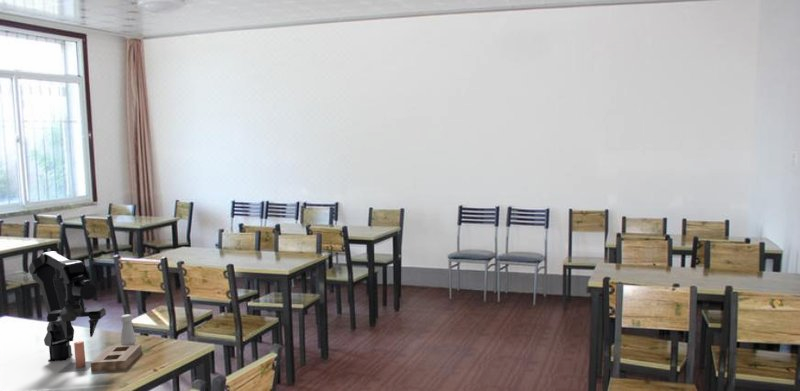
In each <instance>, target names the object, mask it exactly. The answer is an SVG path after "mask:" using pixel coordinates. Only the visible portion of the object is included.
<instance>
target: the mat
mask: <svg viewBox="0 0 800 391" xmlns="http://www.w3.org/2000/svg"><path fill="white" fill-rule="evenodd" d="M92 361H93V360H91V361H89V360H88V361H85V362H86V366H85V367H82V368H76V361H74V362H69V363H67V364H66V365H65V366H64V367H63V368H61V369H59V371H58V372H57V373H72V372H76V373H77V372H87V371H88V370H89V369H91V362H92Z"/></svg>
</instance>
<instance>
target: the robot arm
mask: <svg viewBox="0 0 800 391" xmlns="http://www.w3.org/2000/svg"><path fill="white" fill-rule="evenodd" d="M57 270H58V271H59V275H60V277H62V278H63V284H64V285H65V297H66V298H65V301H64V307H63V308H62V306H61V303H60V300H59V296H58V292H57V289H56V285H55V281H54V279H55V277H56V274H57ZM28 271H29V273H30V275H31V278H32V279H33V281H34V282H36V283H37V284H38V285H39V286H40V290H41V294H42V297H43V301H44V305H45V309H46V312H47V315H46V322H48V324H47V326H46V334H45V337H44V339H43V341H44V345H45V346H46V347H48V350H49V359H48V361H47V362H48V363H49V362H63V361H67V360H68V359H69V358H71V357H72V356H73V353H72V345H71V344H70V342H73V341H74V337H75V336H74V335H75V329H74V327H73V325H72V322H74V321H76V320H77V318H82V317H83V318H85V317H86V318H87V317H88V318H89V320H88V323H89V337H90V338H92V337H93V336H94V333H95V331H96V328H97V325H98V322H99V321H100V320H101V319H103V317H105V316H106V315H107V310H106V309H105V308H104V307H94V308H92V309H91V310H89V311H88V310H87V307H86V305H85V300H86V301H88V300H91V299H93V298H94V297H95V296H96V294H97V288H96V286H95V285H94V284H92V283H91V281H90V280H91V274H90V271H89V270H88V268H87V267H86V265H85V263H84V262H83V261H82V260H77V259H68V258H67V257H65V256H63V255H61V254H60V253H58V252H57V251H54V250H52V251H46V252H43V253H41V254H40V256H38V257H36V258H35V259H34V260H32V262H31V263H30V265H29V267H28ZM86 310H87V311H86Z"/></svg>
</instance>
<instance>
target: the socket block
mask: <svg viewBox="0 0 800 391" xmlns="http://www.w3.org/2000/svg"><path fill="white" fill-rule="evenodd" d="M142 350H143V349H142V343H140V344H139V343H138V344H136V343H135V345H122V344H120V345H109V346H107V348H106V349H105V350H103V351H102V352H101V353H100V354H98V355H97V356H96V357H95V358H94V359H93V360H91V361H92V362H91V367H90V372H104V371H105V372H106V371H120V370H123V371H124V370H127V369H128V368H129V366H131V365H132V363H134V361H135V360H136V359H137V358H139V357H140V355H141V354H142V353H143V351H142Z"/></svg>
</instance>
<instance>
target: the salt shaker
mask: <svg viewBox="0 0 800 391" xmlns="http://www.w3.org/2000/svg"><path fill="white" fill-rule="evenodd" d="M132 321H133V315H132V314H128V313H127V314H123V315H121V316H120V322H122V327H121V332H120V341H119V342H120V345H136V342H137V338H136V335H135V330H134V327H133V323H132Z"/></svg>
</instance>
